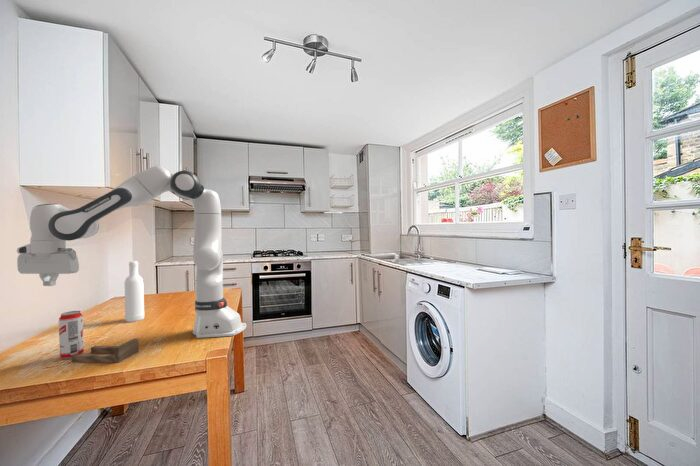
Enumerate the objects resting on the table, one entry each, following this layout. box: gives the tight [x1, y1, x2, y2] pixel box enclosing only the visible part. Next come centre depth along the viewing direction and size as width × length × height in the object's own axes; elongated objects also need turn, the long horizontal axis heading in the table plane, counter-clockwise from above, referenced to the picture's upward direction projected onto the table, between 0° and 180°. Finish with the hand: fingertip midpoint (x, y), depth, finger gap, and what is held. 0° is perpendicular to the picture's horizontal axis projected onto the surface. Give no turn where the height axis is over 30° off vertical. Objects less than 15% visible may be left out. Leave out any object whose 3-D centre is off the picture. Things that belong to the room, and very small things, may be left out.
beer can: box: [58, 310, 85, 360], centre depth 103 cm, size 6×6×16 cm
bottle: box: [124, 260, 146, 323], centre depth 144 cm, size 8×8×30 cm
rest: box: [71, 338, 140, 363], centre depth 102 cm, size 18×8×5 cm, turn 87°
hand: (49, 285), depth 103 cm, fingers closed
